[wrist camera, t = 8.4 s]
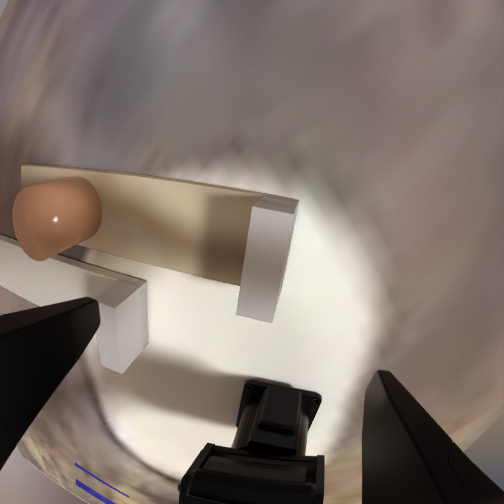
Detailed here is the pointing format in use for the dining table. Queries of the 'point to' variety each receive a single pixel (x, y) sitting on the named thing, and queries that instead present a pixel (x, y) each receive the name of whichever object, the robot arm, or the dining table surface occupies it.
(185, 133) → the dining table surface
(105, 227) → the birch strip
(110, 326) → the grey strip
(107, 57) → the dining table surface
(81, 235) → the rounded peach dome
